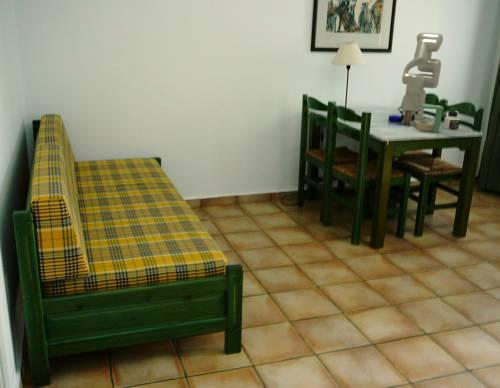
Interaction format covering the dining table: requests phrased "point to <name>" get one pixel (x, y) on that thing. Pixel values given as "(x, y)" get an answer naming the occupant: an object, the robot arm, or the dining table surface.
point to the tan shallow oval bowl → (423, 125)
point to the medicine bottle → (451, 121)
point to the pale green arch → (437, 115)
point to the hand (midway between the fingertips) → (407, 120)
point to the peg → (407, 118)
